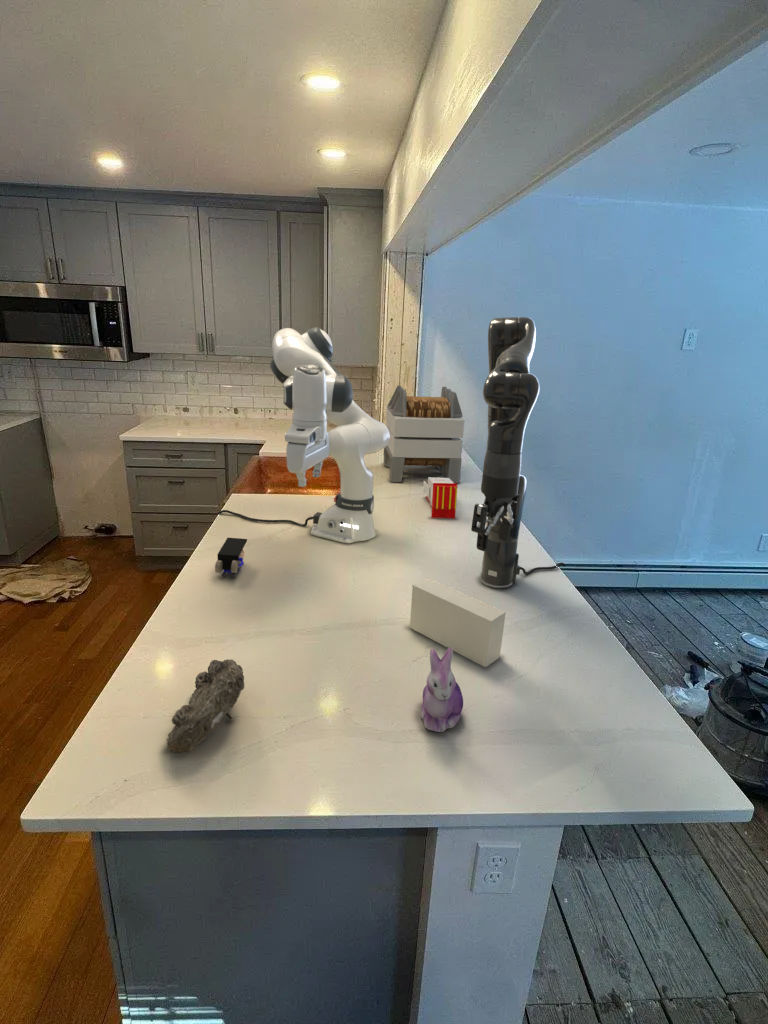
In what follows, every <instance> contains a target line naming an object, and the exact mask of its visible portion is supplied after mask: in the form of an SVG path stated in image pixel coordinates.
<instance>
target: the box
mask: <svg viewBox="0 0 768 1024" xmlns="http://www.w3.org/2000/svg"><path fill="white" fill-rule="evenodd" d="M411 590H412V591H411V603H410V604H411V605H410V617H409V619H410V620H409V621H410V622H409V628H410V629H411V630H413V631H415V632H416V633H418V634H421V635H422V636H425V637H426V638H428V639H430V640H432V641H434V642H436V643H438V644H439V645H442V646H444V647H445V648H446V649H448V648H450V647H451V648H452V649H453V652H455V653H457V654H459V655H461V656H462V657H465V658H467V659H469V660H470V661H472V662H474V663H475V664H478V665H480V666H482V667H484V668H487V667H488V666H490V665H492V663H494V662H495V661H496V660H498V659H499V658H500V657H501V650H502V644H503V643H502V642H503V635H504V629H505V628H504V627H505V621H506V611H504V610H502V609H499V608H497V607H495V606H493V605H490V604H488V603H486V602H484V601H482V600H479V599H477V598H475V597H473V596H471V595H468V594H466V593H463V592H461V591H459V590H457V589H455V588H452V587H450V586H447V585H445V584H443V583H441V582H438V581H436V580H434V579H431V578H429V577H426V578H424V579H423V580H421V581H418V582H416V583H414V584H412V589H411Z"/></svg>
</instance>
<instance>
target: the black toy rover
mask: <svg viewBox="0 0 768 1024" xmlns="http://www.w3.org/2000/svg"><path fill="white" fill-rule="evenodd" d="M247 542H248V538H240V537H226V539H225V541H224V543H223V544H222V546H221V547H220V549H219V551H218V552H217V560H216V562H215V564H214V572H215V573H221V577H222V578H224V577H225V576H226V574H227V573H230V574H231V573H232V574H231V578H234V577H235V575H236V573H237V572H239V571H240V567H242V566H243V565H244V564H245V562H244V558H245V551H244V547H245V546H246V544H247Z"/></svg>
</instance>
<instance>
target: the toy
mask: <svg viewBox="0 0 768 1024" xmlns="http://www.w3.org/2000/svg"><path fill="white" fill-rule="evenodd" d="M422 493H424V494H425V498H426V500H427V501H428V502H429V504H430V506H431V517H430V518H432V519H456V514H457V513H456V512H457V498H458V483H453V482H452V481H451V480H450V479H449V478H444V477H431V476H430V477H429V476H428V477H427V482H426V481H425V480H423V484H422Z"/></svg>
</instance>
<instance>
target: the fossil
mask: <svg viewBox="0 0 768 1024" xmlns="http://www.w3.org/2000/svg"><path fill="white" fill-rule="evenodd" d="M243 670H244V669H243V667H242V665H240V664H237V662H236V661H235V660H234V659H232V658H231V659H227V658H226V659H224V660H223V661H222V660H217V659H212V660H211V661H210V663H209V665H208V666H207V671H201V672H199V673H198V674H197V675H196V676H195V680H194V684H195V685H194V687H195V689H194V690H193V693H192V694H191V697H190V698H189V700H188V704H184V705H182V706H181V707H180V709H177V710H176V711H175V713H174V715H173V716H172V718H171V723H172V724H173V727H172V730H171V731H170V732H168V734H167V738H166V741H167V742H166V745H167V749H168V750H169V751H173V752H174V753H176V754H178V753H182V752H188V751H189V752H192V751H193V750H195V748H196V747H197V746H199V744H200V743H201V742H203V741H204V740H205V739H206V738H207V737H208V736H209V735H210V734H211V733H212V732H214V730H215V729H217V727H218V726H219V724H220V722H221V721H222V720H223V719H224V718H225V716H226V717H227V719H229V720H233V717H232V715H230V714H229V710H230V709H231V708H234V706H235V704H236V703H237V702H238V699H239V697H240V695H241V693H242V691H243V690H245V689H244V688H245V675H244V671H243Z"/></svg>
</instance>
